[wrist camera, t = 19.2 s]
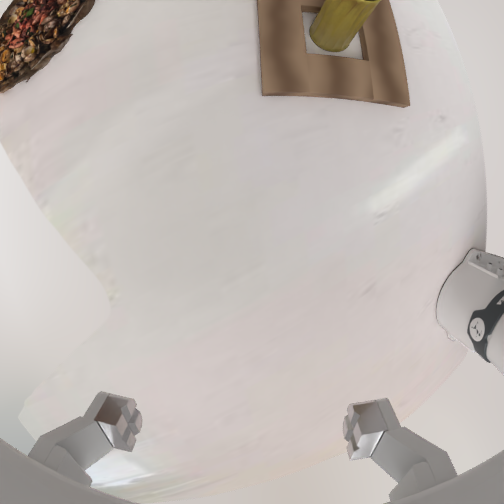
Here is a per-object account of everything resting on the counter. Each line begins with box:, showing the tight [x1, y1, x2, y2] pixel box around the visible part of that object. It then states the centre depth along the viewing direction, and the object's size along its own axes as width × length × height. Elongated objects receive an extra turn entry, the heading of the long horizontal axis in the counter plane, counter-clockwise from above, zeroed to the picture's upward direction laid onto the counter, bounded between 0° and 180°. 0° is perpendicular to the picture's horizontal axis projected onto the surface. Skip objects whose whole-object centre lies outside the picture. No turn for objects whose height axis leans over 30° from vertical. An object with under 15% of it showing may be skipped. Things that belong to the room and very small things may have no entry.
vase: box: [310, 0, 381, 52], centre depth 23 cm, size 6×6×14 cm
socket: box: [257, 0, 410, 108], centre depth 29 cm, size 21×21×2 cm
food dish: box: [0, 0, 95, 93], centre depth 23 cm, size 35×33×8 cm
